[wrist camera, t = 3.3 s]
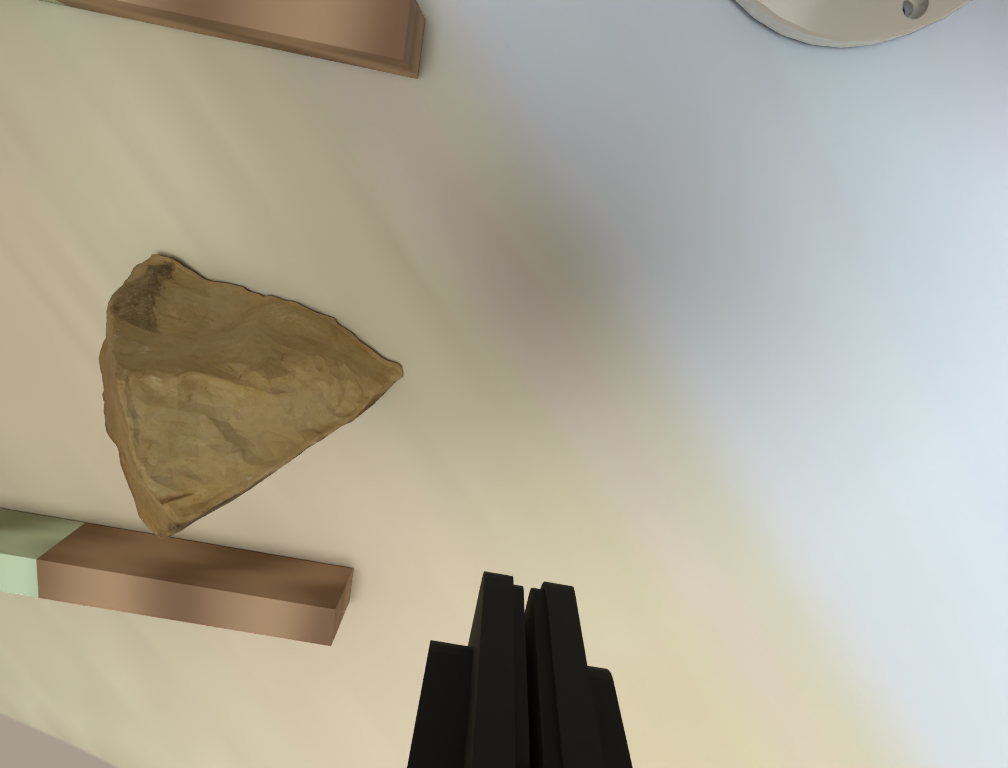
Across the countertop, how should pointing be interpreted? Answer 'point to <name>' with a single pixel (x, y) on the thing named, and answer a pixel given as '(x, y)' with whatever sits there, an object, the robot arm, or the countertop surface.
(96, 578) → the channel
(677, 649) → the countertop surface
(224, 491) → the rock
